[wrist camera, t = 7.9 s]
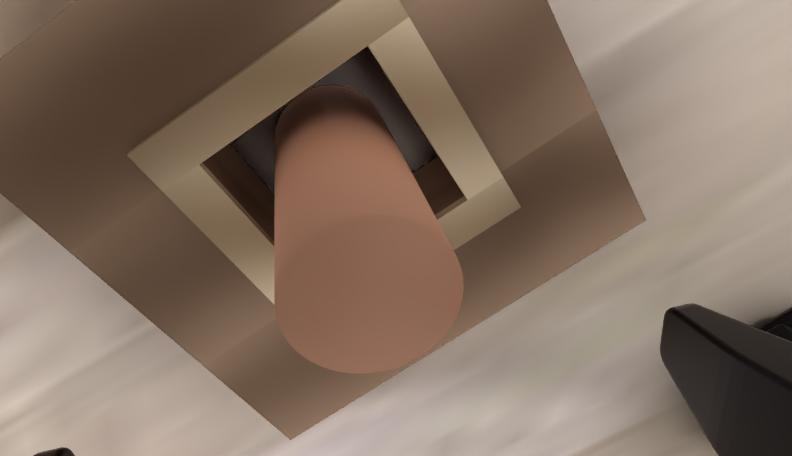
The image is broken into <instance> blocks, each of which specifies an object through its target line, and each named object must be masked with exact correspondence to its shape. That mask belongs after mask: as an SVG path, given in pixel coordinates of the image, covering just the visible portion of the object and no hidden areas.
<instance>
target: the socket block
mask: <svg viewBox="0 0 792 456" xmlns="http://www.w3.org/2000/svg"><path fill="white" fill-rule="evenodd" d="M366 47H367V48H368V49H369V51H370V52H371V54H372V55H373V57H374V59H375V60H376V62H377V63H378V65H379V66H380V68H381V69H382V71H383V72H384V74H385V76H386V77H387V79H388V80H389V82H390V83H391V85H392V86H393V88H394V89H395V91H396V93H397V94H398V96H399V97H400V99H401V100H402V102H403V103H404V105H405V106H406V108H407V110H408V111H409V113H410V114H411V116H412V117H413V119H414V120H415V122H416V123H417V125H418V127H419V128H420V130H421V131H422V133H423V134H424V136H425V137H426V139H427V140H428V142H429V144H430V145H431V147H432V148H433V150H434V151H435V153H436V154H437V156H438V157H436V158H435V159H433V160H432V161H430V162H429V163H427V164H426V165H424V166H423V167H421V168H420V169H418V170H417V171H415V172H414V173H412V174H413V176H414V178H415V180H416V181H417V183H418V185H419V187H420V189H421V191H422V193H423V194H424V196H425V198H426V200H427V202H428V204H429V206H430V208H431V209H432V211H433V213H434V215H435V217H436V219H437V221H438V222H439V224H440V226H441V228H442V230H443V232H444V234H445V236H446V237H447V239H448V241H449V243H450V245H451V247H452V249H453V251H454V252H455V254H456V256H457V258H458V261H459V263H460V266H461V269H462V274H463V282H464V290H463V299H462V303H461V307H460V309H459V312H458V315H457V317H456V319H455V321H454V322H453V324H452V326H451V327H450V329H449V330H448V331H447V333H446V334H445V335H444V336H443V338H442V339H441V340H440V341H439V342H438V343H437V344H436V345H434V346H433V347H432V348H431V349H430V350H429V351H427V352H426V353H424V354H423V355H421V356H420V357H418V358H416V359H414V360H413V361H411V362H409V363H406V364H404V365H402V366H399V367H396V368H393V369H390V370H386V371H381V372H375V373H366V374H353V373H343V372H338V371H333V370H330V369H327V368H324V367H321V366H319V365H317V364H315V363H313V362H311V361H309V360H308V359H306V358H304V357H303V356H302V355H300V354H299V353H298V352H297V351H296V350H295V349H294V348H293V347H292V346H291V345H290V344H289V343H288V341H287V340H286V338H285V337H284V335H283V334H282V332H281V329H280V327H279V325H278V322H277V318H276V314H275V304H274V216H275V195H274V194H273V193H272V192H271V190H270V189H269V188H268V187H267V186H266V185H265V183H264V182H263V181H262V180H261V179H260V178H259V176H258V175H257V174H256V173H255V172H254V171H253V170H252V168H251V167H250V166H249V165H248V164H247V163H246V161H245V160H244V159H243V158H242V157H241V156H240V154H239V153H238V152H237V151H236V150H235V149H234V148H233V146H232V145H231V144H230V143H231V142H232V141H233V140H235V139H236V138H238V137H239V136H240V135H242V134H243V133H245V132H246V131H248V130H249V129H250V128H252V127H253V126H255V125H256V124H258V123H259V122H260V121H262V120H263V119H265V118H266V117H268V116H269V115H270V114H272V113H273V112H275V111H276V110H277V109H279V108H280V107H282V106H283V105H285V104H286V103H287V102H289V101H290V100H292V99H293V98H295V97H296V96H297V95H299V94H300V93H302V92H303V91H304V90H306V89H307V88H309V87H310V86H312V85H313V84H314V83H316V82H317V81H319V80H320V79H322V78H323V77H324V76H326V75H327V74H329V73H330V72H331V71H333V70H334V69H336V68H337V67H339V66H340V65H341V64H343V63H344V62H346V61H347V60H349V59H350V58H351V57H353V56H354V55H356V54H357V53H358V52H360V51H361V50H363V49H364V48H366ZM0 193H1V194H2V195H3V196H5V197H6V198H7V199H8V200H9V201H10V202H12V203H13V204H14V205H15V206H16V207H17V208H19V209H20V210H21V211H22V212H23V213H25V214H26V215H27V216H28V217H29V218H30V219H32V220H33V221H34V222H35V223H36V224H37V225H39V226H40V227H41V228H42V229H43V230H44V231H46V232H47V233H48V234H49V235H50V236H52V237H53V238H54V239H55V240H56V241H57V242H59V243H60V244H61V245H62V246H63V247H64V248H66V249H67V250H68V251H69V252H70V253H72V254H73V255H74V256H75V257H76V258H77V259H79V260H80V261H81V262H82V263H83V264H84V265H86V266H87V267H88V268H89V269H90V270H91V271H93V272H94V273H95V274H96V275H97V276H99V277H100V278H101V279H102V280H103V281H104V282H106V283H107V284H108V285H109V286H110V287H111V288H113V289H114V290H115V291H116V292H117V293H118V294H120V295H121V296H122V297H123V298H124V299H126V300H127V301H128V302H129V303H130V304H131V305H133V306H134V307H135V308H136V309H137V310H138V311H140V312H141V313H142V314H143V315H144V316H146V317H147V318H148V319H149V320H150V321H151V322H153V323H154V324H155V325H156V326H157V327H158V328H160V329H161V330H162V331H163V332H164V333H165V334H167V335H168V336H169V337H170V338H171V339H173V340H174V341H175V342H176V343H177V344H178V345H180V346H181V347H182V348H183V349H184V350H185V351H187V352H188V353H189V354H190V355H191V356H193V357H194V358H195V359H196V360H197V361H198V362H200V363H201V364H202V365H203V366H204V367H205V368H207V369H208V370H209V371H210V372H211V373H212V374H214V375H215V376H216V377H217V378H218V379H220V380H221V381H222V382H223V383H224V384H225V385H227V386H228V387H229V388H230V389H231V390H232V391H234V392H235V393H236V394H237V395H238V396H239V397H241V398H242V399H243V400H244V401H245V402H247V403H248V404H249V405H250V406H251V407H252V408H254V409H255V410H256V411H257V412H258V413H259V414H261V415H262V416H263V417H264V418H265V419H267V420H268V421H269V422H270V423H271V424H272V425H274V426H275V427H276V428H277V429H278V430H279V431H281V432H282V433H283V434H284V435H285V436H286V437H288V438H289V439H290V440H291V439H293V438H294V437H296V436H298V435H299V434H301V433H302V432H304V431H306V430H307V429H309V428H311V427H312V426H314V425H315V424H317V423H319V422H320V421H322V420H323V419H325V418H327V417H328V416H330V415H332V414H333V413H335V412H336V411H338V410H340V409H341V408H343V407H344V406H346V405H348V404H349V403H351V402H353V401H354V400H356V399H357V398H359V397H361V396H362V395H364V394H365V393H367V392H369V391H370V390H372V389H374V388H375V387H377V386H378V385H380V384H382V383H383V382H385V381H386V380H388V379H390V378H391V377H393V376H395V375H396V374H398V373H399V372H401V371H403V370H404V369H406V368H407V367H409V366H411V365H412V364H414V363H416V362H417V361H419V360H420V359H422V358H424V357H425V356H427V355H429V354H430V353H432V352H433V351H435V350H437V349H438V348H440V347H441V346H443V345H445V344H446V343H448V342H450V341H451V340H453V339H454V338H456V337H458V336H459V335H461V334H462V333H464V332H466V331H467V330H469V329H471V328H472V327H474V326H475V325H477V324H479V323H480V322H482V321H483V320H485V319H487V318H488V317H490V316H492V315H493V314H495V313H496V312H498V311H500V310H501V309H503V308H504V307H506V306H508V305H509V304H511V303H513V302H514V301H516V300H517V299H519V298H521V297H522V296H524V295H525V294H527V293H529V292H530V291H532V290H534V289H535V288H537V287H538V286H540V285H542V284H543V283H545V282H546V281H548V280H550V279H551V278H553V277H555V276H556V275H558V274H559V273H561V272H563V271H564V270H566V269H568V268H569V267H571V266H572V265H574V264H576V263H577V262H579V261H580V260H582V259H584V258H585V257H587V256H589V255H590V254H592V253H593V252H595V251H597V250H598V249H600V248H601V247H603V246H605V245H606V244H608V243H610V242H611V241H613V240H614V239H616V238H618V237H619V236H621V235H622V234H624V233H626V232H627V231H629V230H631V229H632V228H634V227H635V226H637V225H639V224H640V223H642V222H643V221H645V220H646V219H645V217H644V215H643V212H642V210H641V208H640V206H639V204H638V201H637V199H636V197H635V195H634V192H633V190H632V188H631V186H630V184H629V181H628V179H627V177H626V175H625V172H624V170H623V168H622V166H621V164H620V161H619V159H618V157H617V155H616V153H615V150H614V148H613V146H612V144H611V141H610V139H609V137H608V135H607V133H606V130H605V128H604V126H603V124H602V121H601V119H600V117H599V115H598V113H597V110H596V108H595V106H594V104H593V101H592V99H591V97H590V95H589V93H588V90H587V88H586V86H585V84H584V81H583V79H582V77H581V75H580V73H579V70H578V68H577V66H576V64H575V62H574V59H573V57H572V55H571V53H570V50H569V48H568V46H567V44H566V42H565V39H564V37H563V35H562V33H561V30H560V28H559V26H558V24H557V22H556V19H555V17H554V15H553V13H552V10H551V8H550V6H549V4H548V2H547V0H77V1H75V2H74V3H73V4H71V5H70V6H69V7H68V8H66V9H65V10H64V11H62V12H61V13H60V14H58V15H57V16H56V17H55V18H53V19H52V20H51V21H49V22H48V23H47V24H45V25H44V26H43V27H42V28H40V29H39V30H38V31H36V32H35V33H34V34H32V35H31V36H30V37H29V38H27V39H26V40H25V41H23V42H22V43H21V44H19V45H18V46H17V47H16V48H14V49H13V50H12V51H10V52H9V53H8V54H6V55H5V56H4V57H3V58H1V59H0Z"/></svg>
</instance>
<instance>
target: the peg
mask: <svg viewBox="0 0 792 456" xmlns="http://www.w3.org/2000/svg"><path fill="white" fill-rule="evenodd" d="M463 290H464V282H463V274H462V269H461V266H460V263H459V261H458V258H457V256H456V254H455V252H454V251H453V249H452V247H451V245H450V243H449V241H448V239H447V237H446V236H445V234H444V232H443V230H442V228H441V226H440V224H439V222H438V221H437V219H436V217H435V215H434V213H433V211H432V209H431V208H430V206H429V204H428V202H427V200H426V198H425V196H424V194H423V193H422V191H421V189H420V187H419V185H418V183H417V181H416V180H415V178H414V176H413V174H412V172H411V170H410V168H409V166H408V165H407V163H406V161H405V159H404V157H403V155H402V153H401V152H400V150H399V148H398V146H397V144H396V142H395V140H394V138H393V137H392V135H391V133H390V131H389V129H388V127H387V125H386V124H385V122H384V120H383V118H382V116H381V114H380V113H379V111H378V109H377V108H376V107H375V105H374V104H373V103H372V102H371V101H370V100H369V99H368V98H367V97H365V96H364V95H362V94H361V93H359V92H357V91H355V90H353V89H350V88H347V87H343V86H336V85H326V86H319V87H315V88H312V89H309V90H307V91H305V92H303V93H301V94H300V95H298V96H297V97H296V98H294V99H293V100H292V101H291V102H290V103H289V104H288V105H287V106H286V108H285V109H284V110H283V112H282V114H281V115H280V117H279V120H278V122H277V125H276V130H275V216H274V304H275V314H276V318H277V322H278V325H279V327H280V329H281V332H282V334H283V335H284V337H285V338H286V340H287V341H288V343H289V344H290V345H291V346H292V347H293V348H294V349H295V350H296V351H297V352H298V353H299V354H300V355H302V356H303V357H304V358H306V359H308V360H309V361H311V362H313V363H315V364H317V365H319V366H321V367H324V368H327V369H330V370H333V371H338V372H343V373H353V374H366V373H375V372H381V371H386V370H390V369H393V368H396V367H399V366H402V365H404V364H406V363H409V362H411V361H413V360H414V359H416V358H418V357H420V356H421V355H423V354H424V353H426V352H427V351H429V350H430V349H431V348H432V347H433V346H434V345H436V344H437V343H438V342H439V341H440V340H441V339H442V338H443V336H444V335H445V334H446V333H447V331H448V330H449V329H450V327H451V326H452V324H453V322H454V321H455V319H456V317H457V315H458V312H459V309H460V307H461V303H462V299H463Z"/></svg>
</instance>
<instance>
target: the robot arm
mask: <svg viewBox="0 0 792 456" xmlns="http://www.w3.org/2000/svg"><path fill="white" fill-rule="evenodd" d="M660 353H661V357H662V360H663V363H664V365H665V367H666V368H667V370H668V372H669V373H670V375H671V377H672V379H673V380H674V382H675V384H676V385H677V387H678V389H679V391H680V392H681V394H682V396H683V398H684V399H685V401H686V403H687V404H688V406H689V408H690V410H691V411H692V413H693V415H694V416H695V418H696V420H697V422H698V423H699V425H700V427H701V428H702V430H703V432H704V434H705V435H706V437H707V439H708V440H709V442H710V443H711V445H712V447H713V448H714V450H715V451H716V453H717V454H718V455H719V456H792V312H791V313H789V314H787V315H786V316H784V317H782V318H780V319H779V320H777V321H775V322H774V323H772V324H770V325H768V326H767V327H765V328H763V329H761V330H760V329H757V328H755V327H752V326H750V325H747V324H745V323H742V322H740V321H737V320H735V319H732V318H730V317H727V316H725V315H722V314H720V313H717V312H715V311H712V310H710V309H707V308H705V307H702V306H700V305H697V304H685V305H681V306H677V307H672V308H670V309H668V310H667V311H666V313H665V315H664V321H663V329H662V337H661V345H660ZM34 456H75V455H74V454H73V452H72V451H71V450H70V449H68V448H63V447H62V448H57V449H53V450H48V451H44V452H40V453H37V454H35V455H34Z"/></svg>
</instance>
